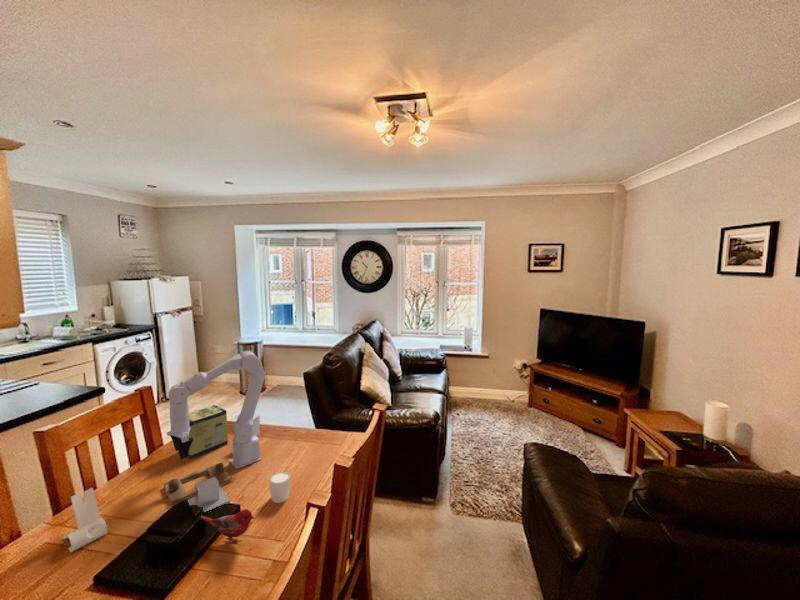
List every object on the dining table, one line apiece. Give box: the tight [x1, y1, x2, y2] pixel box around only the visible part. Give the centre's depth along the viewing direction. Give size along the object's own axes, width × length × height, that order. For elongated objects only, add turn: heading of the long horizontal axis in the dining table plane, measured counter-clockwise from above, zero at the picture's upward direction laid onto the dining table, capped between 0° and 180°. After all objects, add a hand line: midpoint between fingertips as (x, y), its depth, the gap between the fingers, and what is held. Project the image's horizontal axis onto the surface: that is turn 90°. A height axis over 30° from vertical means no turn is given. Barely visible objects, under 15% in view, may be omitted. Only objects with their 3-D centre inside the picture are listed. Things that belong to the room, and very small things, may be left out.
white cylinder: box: [268, 471, 291, 504], centre depth 112 cm, size 7×7×7 cm
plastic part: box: [61, 487, 108, 553], centre depth 95 cm, size 8×10×12 cm
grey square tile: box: [186, 486, 231, 512], centre depth 110 cm, size 10×10×1 cm
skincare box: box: [252, 414, 261, 442], centre depth 148 cm, size 6×4×12 cm
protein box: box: [187, 404, 229, 460], centre depth 144 cm, size 10×16×16 cm
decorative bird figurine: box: [198, 508, 255, 543], centre depth 94 cm, size 3×18×10 cm, turn 80°
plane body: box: [163, 462, 232, 507], centre depth 119 cm, size 18×13×4 cm
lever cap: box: [194, 477, 219, 507], centre depth 109 cm, size 6×4×6 cm, turn 135°
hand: (181, 453), depth 122 cm, fingers open, 7 cm apart
